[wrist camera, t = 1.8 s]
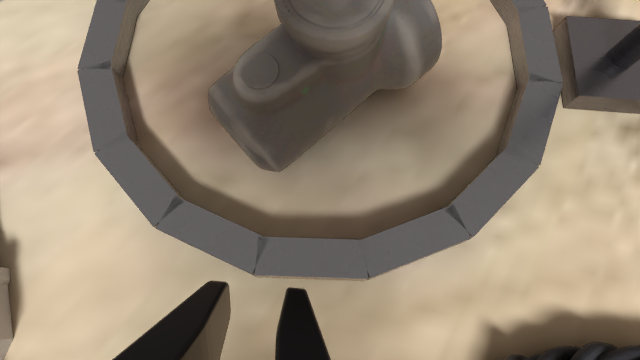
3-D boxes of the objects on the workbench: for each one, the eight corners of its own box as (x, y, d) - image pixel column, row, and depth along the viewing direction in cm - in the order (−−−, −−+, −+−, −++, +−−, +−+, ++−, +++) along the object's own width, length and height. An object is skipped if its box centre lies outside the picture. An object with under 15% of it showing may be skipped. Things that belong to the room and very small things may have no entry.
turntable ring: (634, 60, 25) (652, 45, 24) (306, 407, 19) (305, 415, 17) (327, -154, 32) (328, -176, 31) (11, 43, 26) (-7, 27, 24)
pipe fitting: (347, 5, 26) (356, -149, 16) (426, 86, 25) (490, -25, 15) (211, 111, 25) (129, 17, 15) (286, 202, 24) (252, 167, 14)
